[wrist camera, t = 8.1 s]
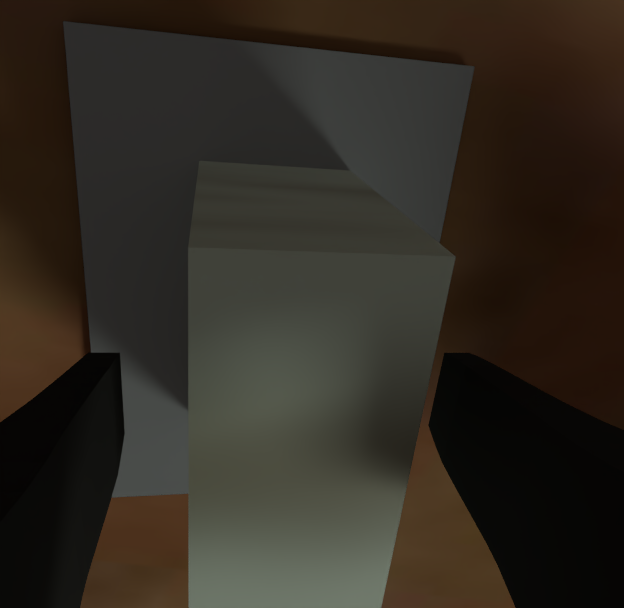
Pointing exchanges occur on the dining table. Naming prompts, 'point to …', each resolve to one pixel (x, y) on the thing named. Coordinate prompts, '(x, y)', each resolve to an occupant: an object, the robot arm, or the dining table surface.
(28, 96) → the dining table surface
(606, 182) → the dining table surface
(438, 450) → the robot arm
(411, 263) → the pale green block
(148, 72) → the slate mat
